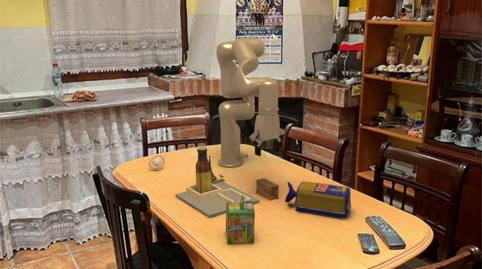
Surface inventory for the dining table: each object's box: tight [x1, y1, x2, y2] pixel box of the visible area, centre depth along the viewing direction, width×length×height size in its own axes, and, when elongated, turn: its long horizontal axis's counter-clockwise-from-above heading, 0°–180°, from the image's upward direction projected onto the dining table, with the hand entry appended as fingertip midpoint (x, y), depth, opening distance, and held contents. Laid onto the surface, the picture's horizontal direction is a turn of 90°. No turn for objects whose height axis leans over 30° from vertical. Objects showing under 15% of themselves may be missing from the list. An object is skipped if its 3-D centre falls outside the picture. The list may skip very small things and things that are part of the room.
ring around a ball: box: [148, 153, 166, 171], centre depth 220 cm, size 8×6×8 cm
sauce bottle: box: [195, 146, 212, 194], centre depth 187 cm, size 6×6×20 cm
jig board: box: [175, 181, 260, 219], centre depth 187 cm, size 24×25×4 cm
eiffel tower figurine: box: [208, 154, 226, 184], centre depth 207 cm, size 15×10×13 cm
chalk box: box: [225, 195, 256, 245], centre depth 155 cm, size 9×9×15 cm
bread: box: [284, 181, 352, 220], centre depth 178 cm, size 10×25×10 cm, turn 68°
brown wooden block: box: [255, 177, 280, 202], centre depth 192 cm, size 4×10×6 cm, turn 34°
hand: (267, 153), depth 187 cm, fingers open, 9 cm apart
